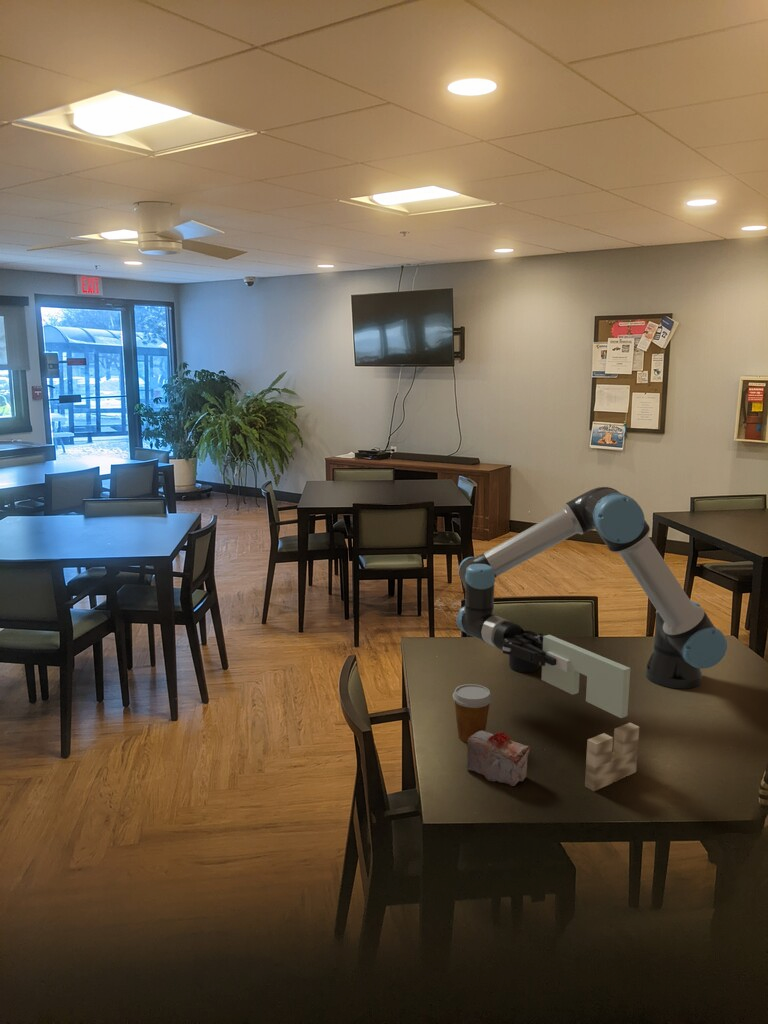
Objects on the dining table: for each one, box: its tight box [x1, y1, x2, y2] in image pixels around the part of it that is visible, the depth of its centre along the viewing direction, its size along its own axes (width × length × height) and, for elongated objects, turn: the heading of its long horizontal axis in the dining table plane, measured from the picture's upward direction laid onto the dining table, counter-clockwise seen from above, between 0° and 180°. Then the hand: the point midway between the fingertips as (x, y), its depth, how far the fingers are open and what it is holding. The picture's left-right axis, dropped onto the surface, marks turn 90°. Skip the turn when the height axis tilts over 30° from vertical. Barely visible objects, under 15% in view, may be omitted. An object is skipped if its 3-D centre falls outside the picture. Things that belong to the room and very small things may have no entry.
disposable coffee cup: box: [452, 683, 493, 743], centre depth 189 cm, size 10×10×12 cm
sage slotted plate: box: [541, 634, 631, 719], centre depth 176 cm, size 24×2×11 cm, turn 33°
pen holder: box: [508, 629, 540, 674], centre depth 231 cm, size 9×9×10 cm
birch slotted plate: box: [584, 722, 640, 792], centre depth 170 cm, size 14×2×11 cm, turn 124°
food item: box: [466, 730, 530, 787], centre depth 172 cm, size 14×8×10 cm, turn 53°
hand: (572, 665), depth 179 cm, fingers closed on sage slotted plate, 2 cm apart
